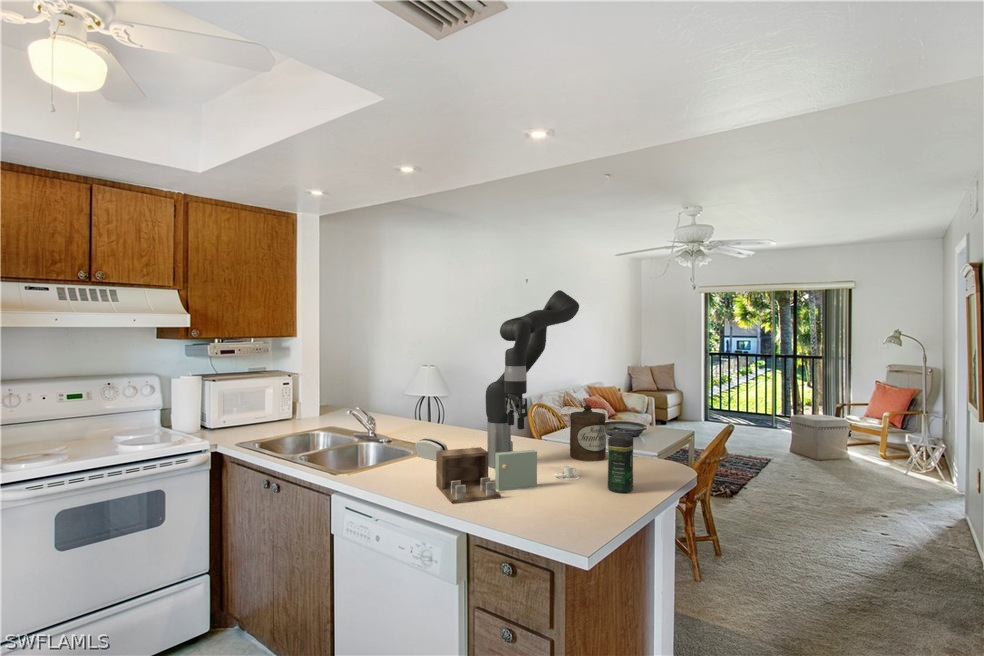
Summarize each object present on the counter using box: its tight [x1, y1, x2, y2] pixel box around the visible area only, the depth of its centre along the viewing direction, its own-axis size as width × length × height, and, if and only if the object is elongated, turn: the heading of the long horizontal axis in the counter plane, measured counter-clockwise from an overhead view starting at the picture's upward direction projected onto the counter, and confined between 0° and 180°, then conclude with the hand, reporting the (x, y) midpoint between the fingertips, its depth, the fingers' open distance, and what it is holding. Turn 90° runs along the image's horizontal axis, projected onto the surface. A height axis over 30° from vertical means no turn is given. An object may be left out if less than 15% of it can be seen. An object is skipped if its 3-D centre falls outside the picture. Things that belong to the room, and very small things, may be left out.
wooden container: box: [569, 404, 607, 462], centre depth 220 cm, size 15×15×22 cm
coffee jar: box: [607, 432, 634, 494], centre depth 175 cm, size 10×8×19 cm
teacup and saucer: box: [554, 465, 580, 481], centre depth 190 cm, size 9×8×4 cm
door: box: [494, 449, 538, 492], centre depth 176 cm, size 14×4×12 cm, turn 110°
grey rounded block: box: [414, 437, 449, 462], centre depth 215 cm, size 17×5×10 cm, turn 50°
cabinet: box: [435, 446, 502, 504], centre depth 172 cm, size 16×20×12 cm
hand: (515, 427), depth 177 cm, fingers open, 8 cm apart
